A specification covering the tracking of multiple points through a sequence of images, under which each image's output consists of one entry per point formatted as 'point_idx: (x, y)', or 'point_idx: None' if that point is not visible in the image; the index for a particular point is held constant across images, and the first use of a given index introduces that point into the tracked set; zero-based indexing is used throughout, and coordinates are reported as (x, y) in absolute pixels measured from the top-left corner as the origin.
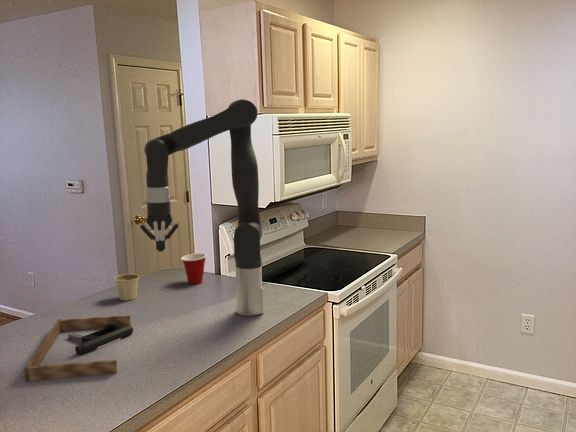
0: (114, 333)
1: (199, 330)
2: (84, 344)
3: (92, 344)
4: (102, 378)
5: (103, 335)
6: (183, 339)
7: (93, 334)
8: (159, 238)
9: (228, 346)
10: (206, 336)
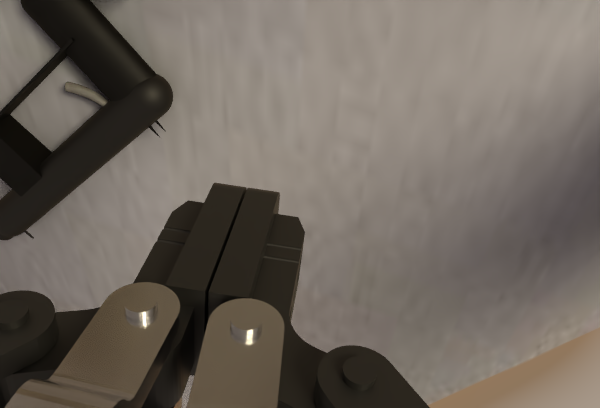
0: (97, 160)
1: (481, 154)
2: (10, 230)
3: (38, 217)
4: None
5: (56, 177)
6: (389, 220)
7: (4, 114)
8: (179, 400)
9: (534, 326)
10: (489, 224)
